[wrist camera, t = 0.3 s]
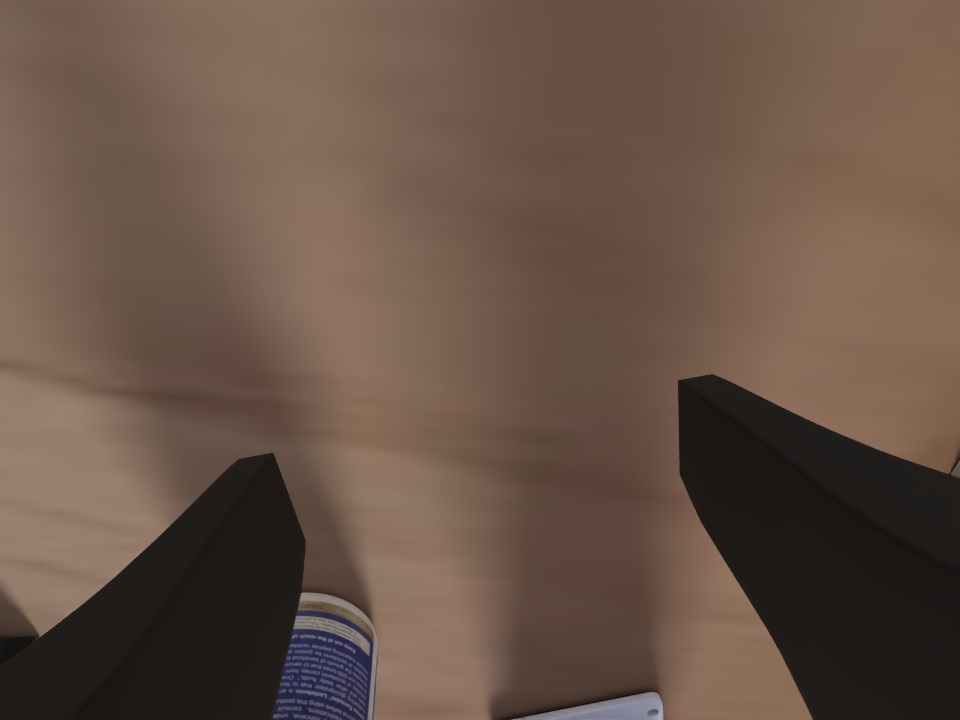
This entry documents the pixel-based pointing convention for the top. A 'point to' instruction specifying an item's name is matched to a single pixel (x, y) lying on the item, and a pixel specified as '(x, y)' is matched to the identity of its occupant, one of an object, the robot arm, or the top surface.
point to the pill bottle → (329, 663)
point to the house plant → (956, 470)
